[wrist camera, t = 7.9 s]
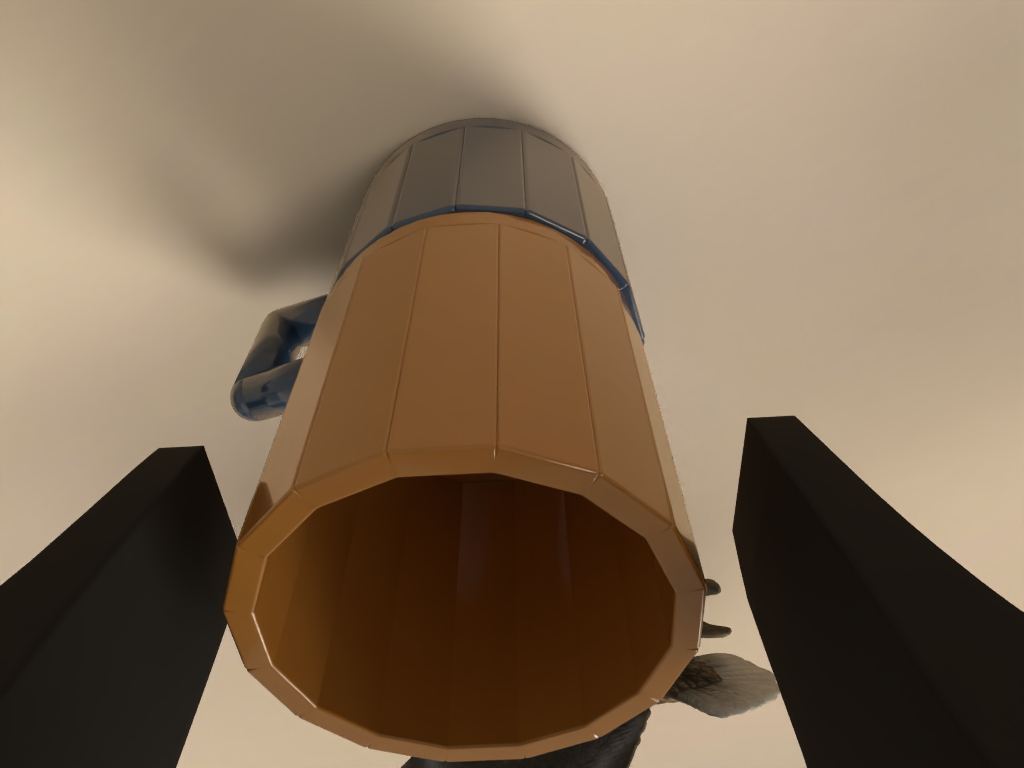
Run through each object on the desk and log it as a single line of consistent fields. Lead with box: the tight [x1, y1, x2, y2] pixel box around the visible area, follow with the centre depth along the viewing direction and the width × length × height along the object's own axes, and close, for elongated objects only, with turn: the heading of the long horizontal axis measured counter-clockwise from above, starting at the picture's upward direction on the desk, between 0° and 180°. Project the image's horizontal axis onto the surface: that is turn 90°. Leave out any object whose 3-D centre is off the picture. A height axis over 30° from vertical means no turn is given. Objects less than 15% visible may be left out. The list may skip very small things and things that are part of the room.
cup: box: [230, 118, 645, 421], centre depth 16 cm, size 8×5×4 cm
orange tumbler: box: [222, 212, 707, 762], centre depth 11 cm, size 5×5×6 cm
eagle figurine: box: [401, 579, 781, 768], centre depth 22 cm, size 8×7×9 cm
